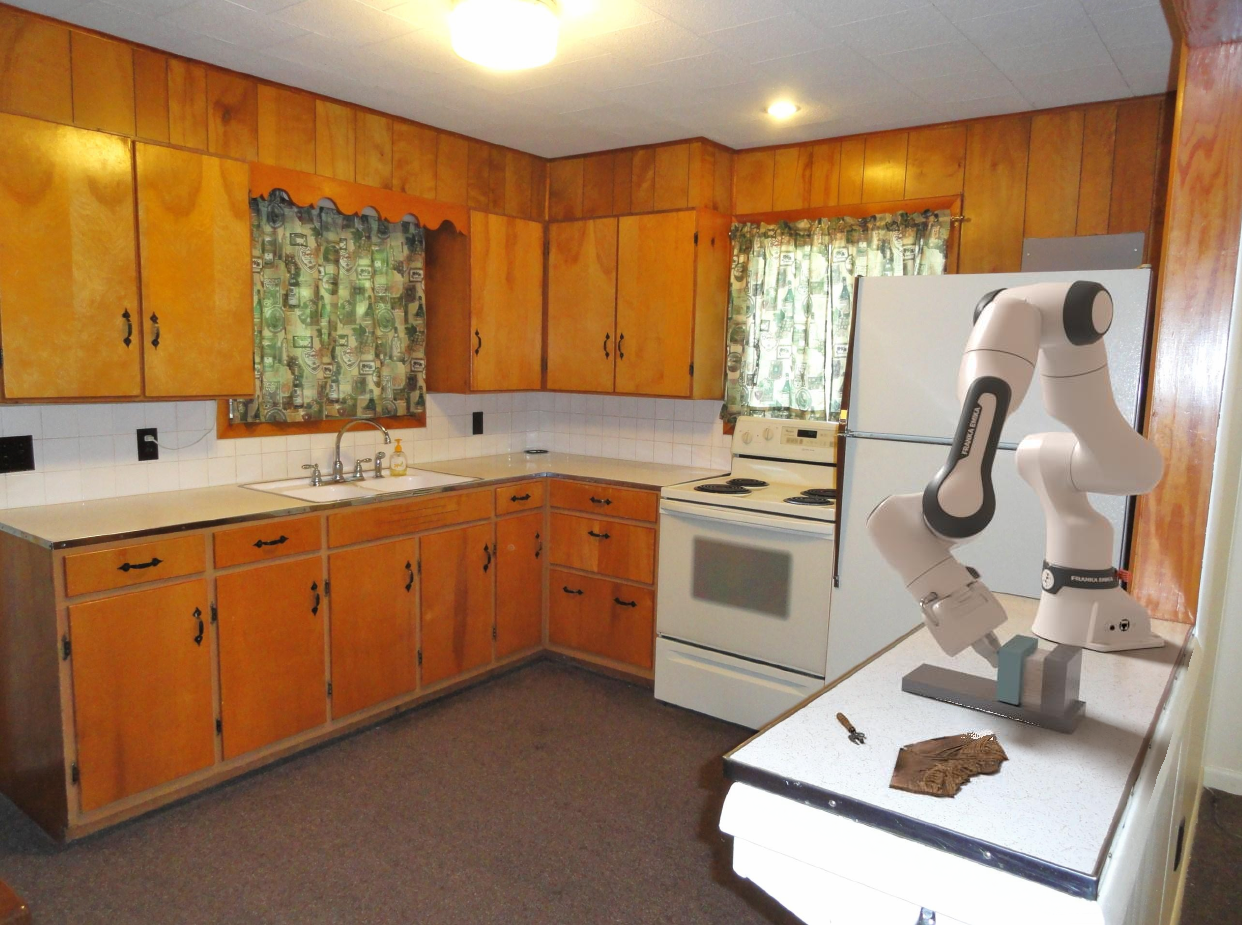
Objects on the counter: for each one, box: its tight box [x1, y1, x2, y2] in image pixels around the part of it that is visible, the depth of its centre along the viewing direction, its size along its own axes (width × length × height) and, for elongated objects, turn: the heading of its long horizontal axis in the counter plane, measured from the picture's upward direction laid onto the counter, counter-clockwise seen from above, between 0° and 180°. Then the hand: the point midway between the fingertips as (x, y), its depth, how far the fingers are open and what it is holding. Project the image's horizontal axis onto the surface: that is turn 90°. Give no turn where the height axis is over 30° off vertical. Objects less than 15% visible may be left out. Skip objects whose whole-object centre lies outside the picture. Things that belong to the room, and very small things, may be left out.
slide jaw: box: [996, 633, 1039, 705], centre depth 124 cm, size 3×9×8 cm, turn 139°
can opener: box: [835, 712, 865, 746], centre depth 116 cm, size 9×2×1 cm, turn 0°
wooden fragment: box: [888, 731, 1009, 798], centre depth 108 cm, size 26×11×1 cm, turn 129°
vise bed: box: [901, 643, 1087, 735], centre depth 126 cm, size 24×9×10 cm, turn 49°
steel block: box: [1021, 647, 1052, 709], centre depth 122 cm, size 3×6×7 cm, turn 139°
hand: (1002, 664), depth 125 cm, fingers closed, pressing on slide jaw
